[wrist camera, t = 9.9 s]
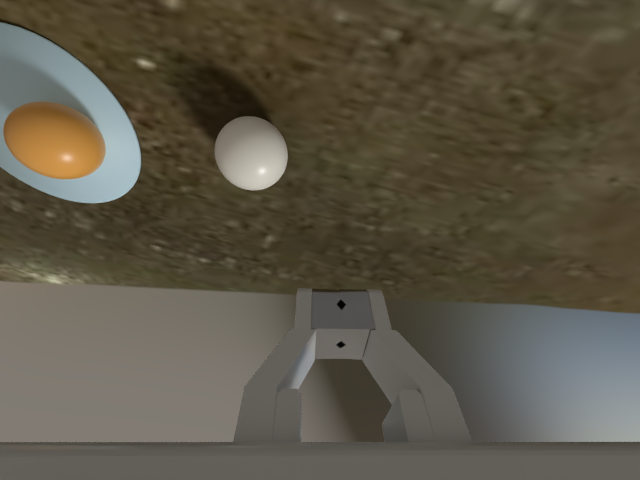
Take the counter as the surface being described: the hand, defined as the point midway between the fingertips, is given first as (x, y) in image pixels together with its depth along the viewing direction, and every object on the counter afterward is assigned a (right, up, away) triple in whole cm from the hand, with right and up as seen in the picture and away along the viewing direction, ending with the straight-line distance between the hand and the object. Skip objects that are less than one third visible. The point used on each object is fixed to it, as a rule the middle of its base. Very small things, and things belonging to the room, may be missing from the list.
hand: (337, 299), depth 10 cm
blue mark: (-23, +11, +13) cm, 29 cm away
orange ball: (-20, +10, +11) cm, 25 cm away
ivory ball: (-6, +9, +11) cm, 16 cm away
